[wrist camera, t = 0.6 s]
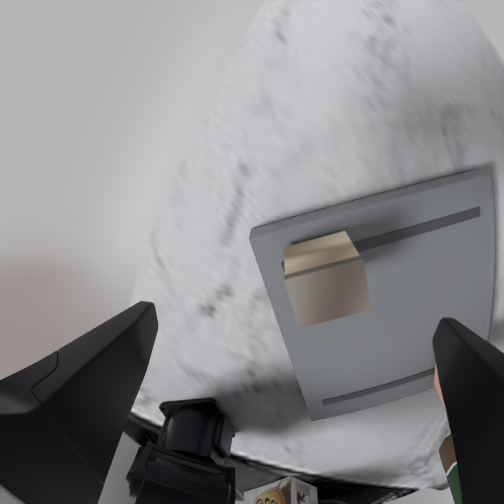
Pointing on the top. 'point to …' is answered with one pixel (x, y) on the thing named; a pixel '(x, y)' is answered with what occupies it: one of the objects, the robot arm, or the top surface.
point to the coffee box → (282, 493)
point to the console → (388, 288)
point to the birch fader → (325, 279)
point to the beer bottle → (451, 468)
